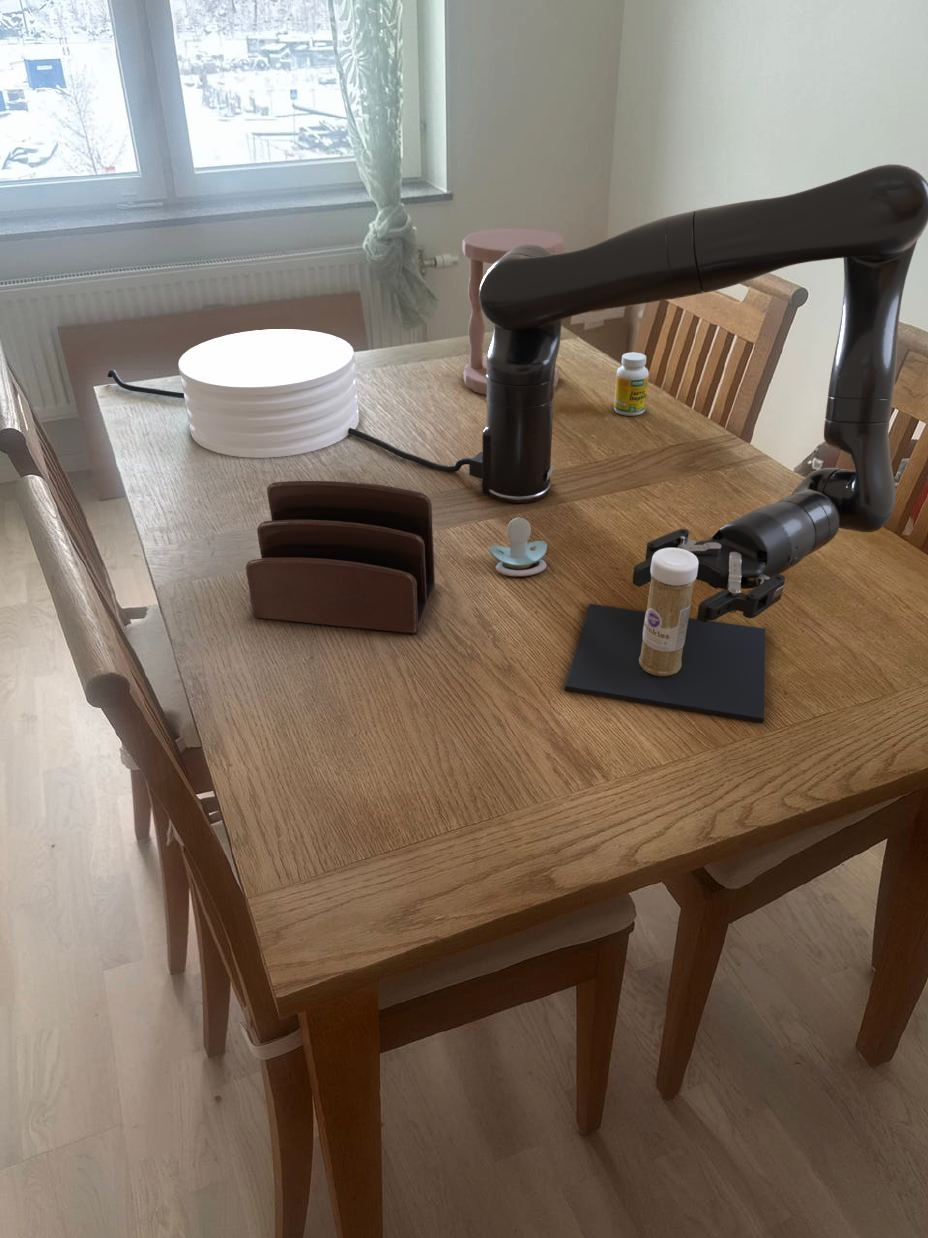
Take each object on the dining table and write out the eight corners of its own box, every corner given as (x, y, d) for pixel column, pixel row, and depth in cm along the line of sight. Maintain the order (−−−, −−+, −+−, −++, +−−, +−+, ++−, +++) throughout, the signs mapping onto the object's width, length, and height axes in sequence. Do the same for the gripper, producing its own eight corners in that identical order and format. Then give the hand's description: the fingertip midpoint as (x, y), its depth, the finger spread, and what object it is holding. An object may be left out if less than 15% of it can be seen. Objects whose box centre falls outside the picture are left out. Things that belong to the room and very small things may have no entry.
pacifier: (553, 576, 115) (541, 551, 119) (556, 533, 111) (544, 509, 116) (495, 582, 114) (486, 556, 118) (496, 539, 110) (487, 514, 115)
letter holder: (281, 575, 115) (266, 472, 107) (436, 589, 112) (433, 484, 104) (252, 619, 107) (234, 512, 99) (418, 636, 104) (413, 527, 96)
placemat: (564, 690, 96) (565, 685, 96) (589, 607, 109) (589, 603, 108) (763, 723, 91) (764, 718, 91) (764, 632, 104) (765, 628, 104)
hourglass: (571, 372, 174) (579, 232, 160) (539, 404, 161) (545, 254, 147) (485, 360, 180) (486, 224, 166) (448, 389, 167) (445, 245, 153)
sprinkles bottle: (630, 667, 98) (643, 558, 90) (652, 647, 101) (667, 541, 93) (668, 684, 96) (684, 574, 88) (689, 663, 98) (707, 555, 91)
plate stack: (160, 421, 156) (146, 354, 150) (298, 380, 171) (291, 318, 165) (247, 474, 139) (236, 401, 132) (392, 423, 154) (388, 356, 148)
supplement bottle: (630, 402, 161) (635, 348, 156) (651, 412, 158) (657, 357, 152) (607, 409, 159) (611, 354, 153) (627, 419, 155) (633, 363, 150)
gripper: (716, 490, 104) (618, 536, 96) (828, 538, 95) (730, 593, 86) (707, 548, 108) (612, 596, 100) (813, 599, 99) (718, 657, 91)
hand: (667, 595), depth 93 cm, fingers open, 8 cm apart
